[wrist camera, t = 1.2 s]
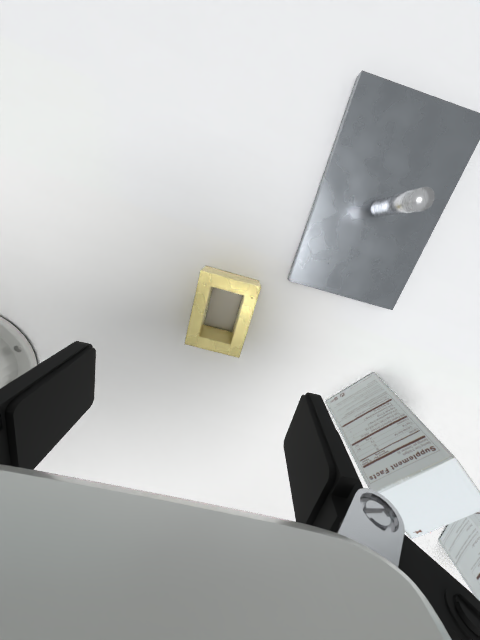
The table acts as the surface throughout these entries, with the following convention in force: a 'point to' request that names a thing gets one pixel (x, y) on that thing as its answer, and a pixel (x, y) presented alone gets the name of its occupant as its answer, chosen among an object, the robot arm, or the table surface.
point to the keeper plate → (383, 190)
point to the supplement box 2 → (465, 549)
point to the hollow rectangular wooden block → (197, 330)
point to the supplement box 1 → (403, 458)
